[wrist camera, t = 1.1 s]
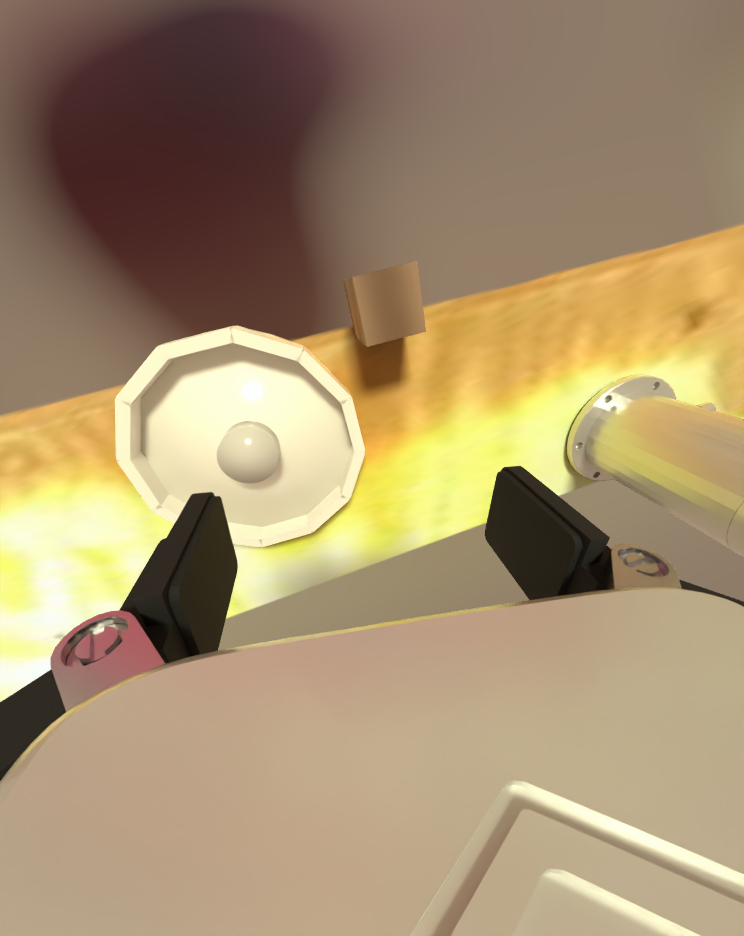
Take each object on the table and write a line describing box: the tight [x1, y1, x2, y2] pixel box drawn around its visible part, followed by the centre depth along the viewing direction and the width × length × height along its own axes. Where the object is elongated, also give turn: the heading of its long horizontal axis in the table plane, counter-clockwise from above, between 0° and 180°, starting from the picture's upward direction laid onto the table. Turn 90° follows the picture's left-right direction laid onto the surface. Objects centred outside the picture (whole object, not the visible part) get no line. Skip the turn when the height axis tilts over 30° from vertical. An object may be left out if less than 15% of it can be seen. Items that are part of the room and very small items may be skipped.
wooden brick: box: [343, 261, 426, 347], centre depth 25 cm, size 4×4×6 cm
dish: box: [115, 326, 365, 547], centre depth 30 cm, size 20×20×4 cm
